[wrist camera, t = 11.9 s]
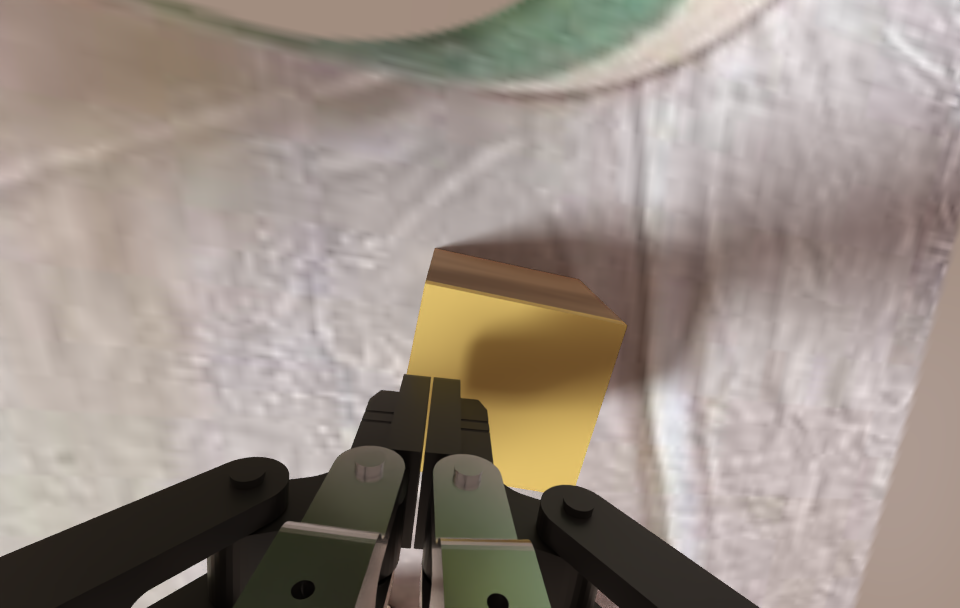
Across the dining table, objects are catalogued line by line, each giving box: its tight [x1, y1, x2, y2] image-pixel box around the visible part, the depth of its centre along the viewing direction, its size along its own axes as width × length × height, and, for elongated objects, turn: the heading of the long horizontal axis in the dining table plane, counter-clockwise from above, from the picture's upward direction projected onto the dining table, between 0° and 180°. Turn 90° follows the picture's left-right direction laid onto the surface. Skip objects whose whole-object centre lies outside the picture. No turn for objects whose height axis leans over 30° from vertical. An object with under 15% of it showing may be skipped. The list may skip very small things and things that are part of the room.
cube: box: [407, 248, 627, 492], centre depth 18 cm, size 6×6×6 cm
